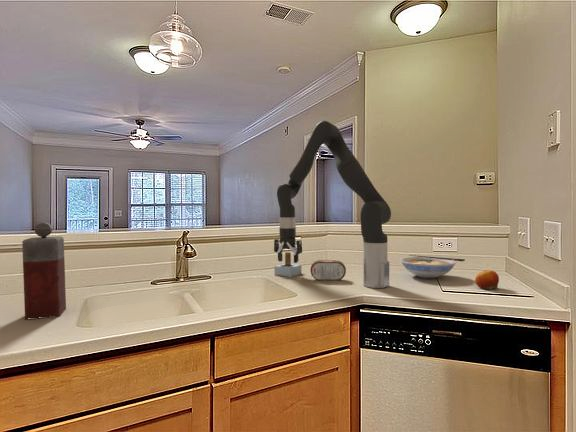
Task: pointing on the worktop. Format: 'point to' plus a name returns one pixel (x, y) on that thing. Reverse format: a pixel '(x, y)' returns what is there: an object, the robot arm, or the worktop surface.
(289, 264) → the dowel
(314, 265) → the tin
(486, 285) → the fruit
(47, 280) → the decanter
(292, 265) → the light blue square box
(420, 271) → the ramen bowl
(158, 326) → the worktop surface
